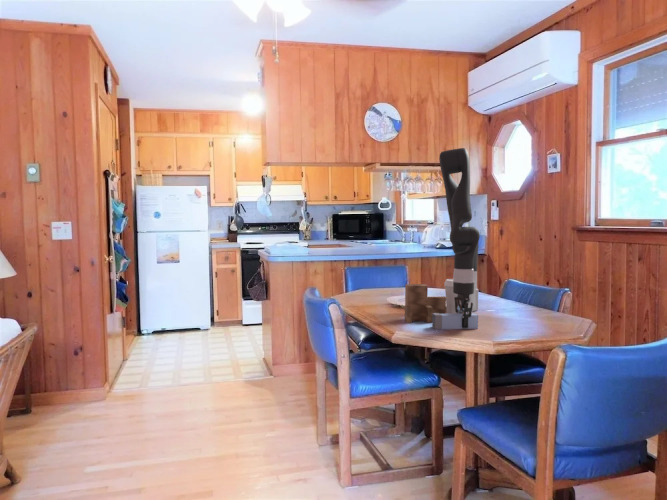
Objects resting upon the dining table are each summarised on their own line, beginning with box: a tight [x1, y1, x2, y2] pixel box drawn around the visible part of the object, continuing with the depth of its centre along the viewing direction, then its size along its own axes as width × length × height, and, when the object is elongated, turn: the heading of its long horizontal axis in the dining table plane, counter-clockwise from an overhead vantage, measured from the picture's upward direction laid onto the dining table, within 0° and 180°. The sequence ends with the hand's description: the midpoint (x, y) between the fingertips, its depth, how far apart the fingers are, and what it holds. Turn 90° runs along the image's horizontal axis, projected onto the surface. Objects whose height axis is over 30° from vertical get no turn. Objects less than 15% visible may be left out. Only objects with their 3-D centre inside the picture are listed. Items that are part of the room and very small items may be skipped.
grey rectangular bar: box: [431, 312, 479, 330], centre depth 185 cm, size 16×4×5 cm, turn 94°
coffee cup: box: [443, 278, 458, 314], centre depth 206 cm, size 10×10×15 cm
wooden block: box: [404, 283, 447, 324], centre depth 197 cm, size 17×8×14 cm, turn 95°
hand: (462, 326), depth 185 cm, fingers closed on grey rectangular bar, 4 cm apart
